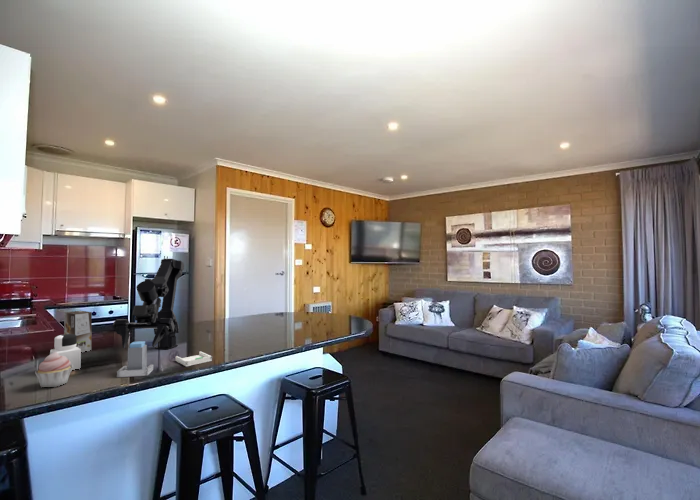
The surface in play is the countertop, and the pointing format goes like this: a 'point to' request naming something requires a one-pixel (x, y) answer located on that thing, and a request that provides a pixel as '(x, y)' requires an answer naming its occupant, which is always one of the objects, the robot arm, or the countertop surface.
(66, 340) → the medicine bottle
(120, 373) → the shallow white tray
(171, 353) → the countertop surface
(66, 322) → the coffee box
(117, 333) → the robot arm
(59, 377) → the cupcake
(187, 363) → the dock tray
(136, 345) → the fibre plug
